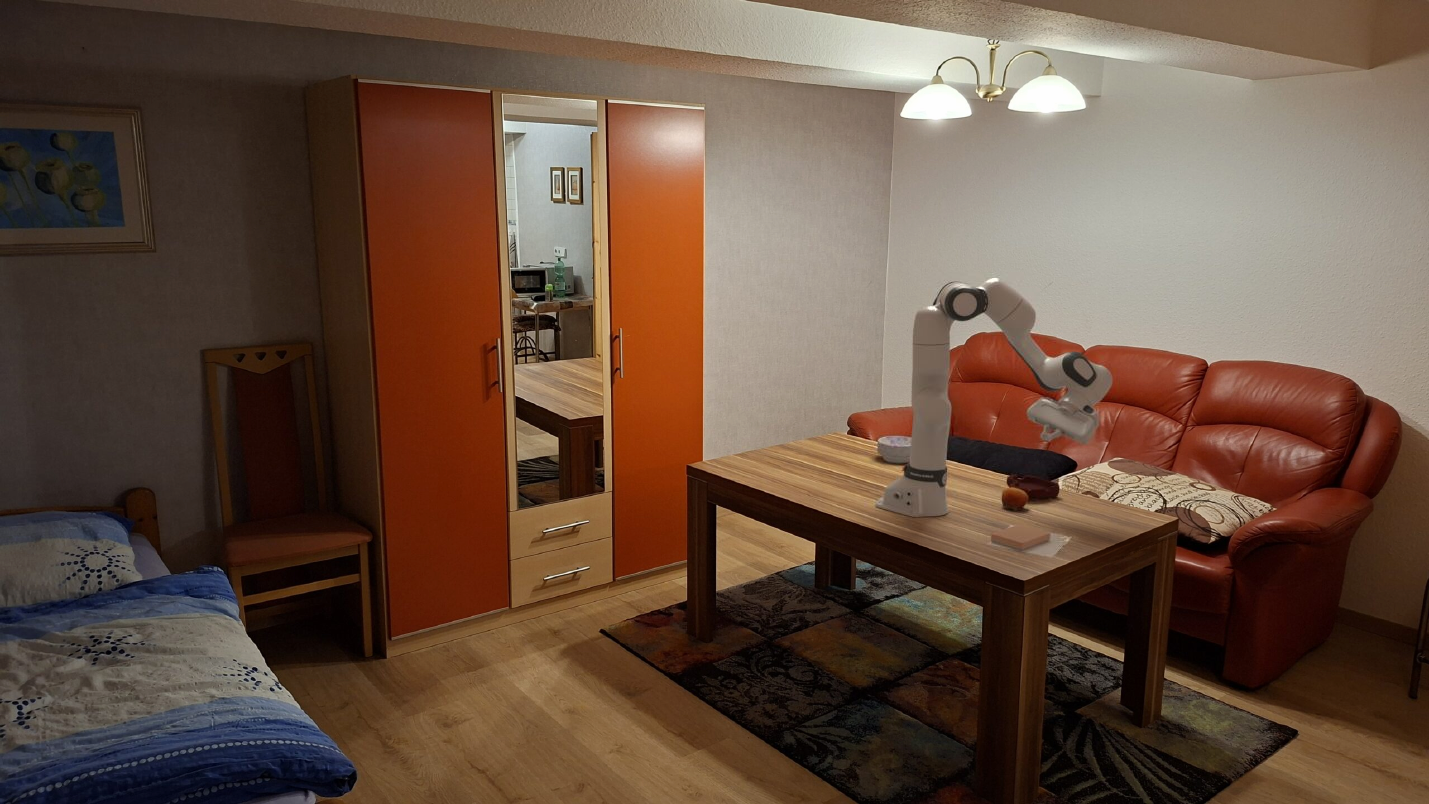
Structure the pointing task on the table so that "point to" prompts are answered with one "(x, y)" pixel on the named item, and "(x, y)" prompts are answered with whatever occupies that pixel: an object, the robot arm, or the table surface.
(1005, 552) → the table surface
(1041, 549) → the mat
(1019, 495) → the fruit
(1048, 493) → the ashtray
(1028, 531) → the tile
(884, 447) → the white patterned bowl
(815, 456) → the table surface
